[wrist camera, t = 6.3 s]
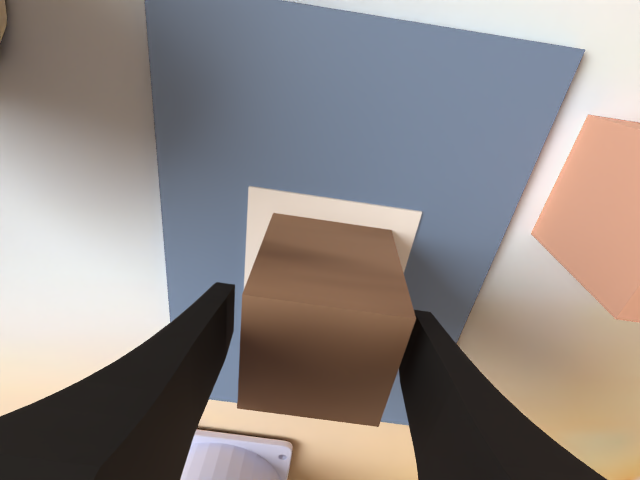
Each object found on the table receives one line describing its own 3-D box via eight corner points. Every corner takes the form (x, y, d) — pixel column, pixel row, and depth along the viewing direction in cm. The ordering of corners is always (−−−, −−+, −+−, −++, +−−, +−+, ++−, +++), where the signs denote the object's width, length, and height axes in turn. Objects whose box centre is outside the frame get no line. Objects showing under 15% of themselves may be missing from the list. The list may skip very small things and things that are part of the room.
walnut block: (367, 320, 16) (378, 426, 12) (265, 306, 16) (237, 408, 11) (391, 229, 14) (415, 318, 9) (273, 213, 14) (242, 294, 9)
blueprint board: (418, 420, 20) (420, 428, 19) (178, 388, 19) (175, 396, 19) (577, 49, 11) (587, 49, 11) (149, -21, 11) (141, -23, 10)
